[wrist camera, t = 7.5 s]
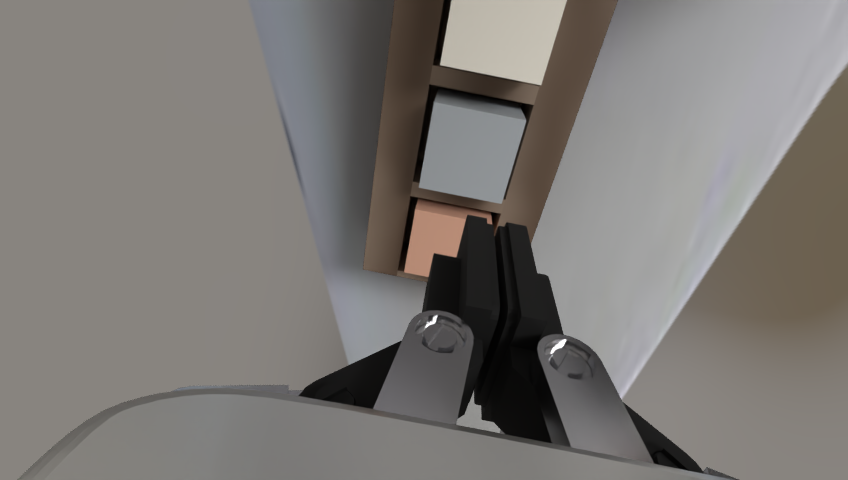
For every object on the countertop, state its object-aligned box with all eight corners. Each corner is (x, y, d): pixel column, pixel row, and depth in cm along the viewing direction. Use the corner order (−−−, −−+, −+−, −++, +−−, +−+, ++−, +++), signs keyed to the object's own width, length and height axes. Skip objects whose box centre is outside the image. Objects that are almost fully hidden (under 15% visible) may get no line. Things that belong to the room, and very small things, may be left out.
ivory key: (463, -51, 21) (462, -60, 18) (560, -32, 21) (578, -37, 18) (444, 54, 24) (440, 65, 20) (530, 72, 24) (541, 85, 20)
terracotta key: (421, 184, 30) (415, 209, 27) (489, 198, 30) (492, 224, 27) (410, 243, 33) (403, 272, 29) (473, 255, 33) (474, 286, 29)
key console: (376, 235, 35) (362, 269, 30) (416, -76, 24) (405, -92, 20) (506, 260, 35) (511, 298, 30) (604, -38, 24) (634, -46, 20)
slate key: (438, 87, 26) (434, 102, 22) (518, 103, 26) (526, 120, 22) (424, 164, 28) (418, 187, 25) (497, 178, 28) (501, 204, 25)
